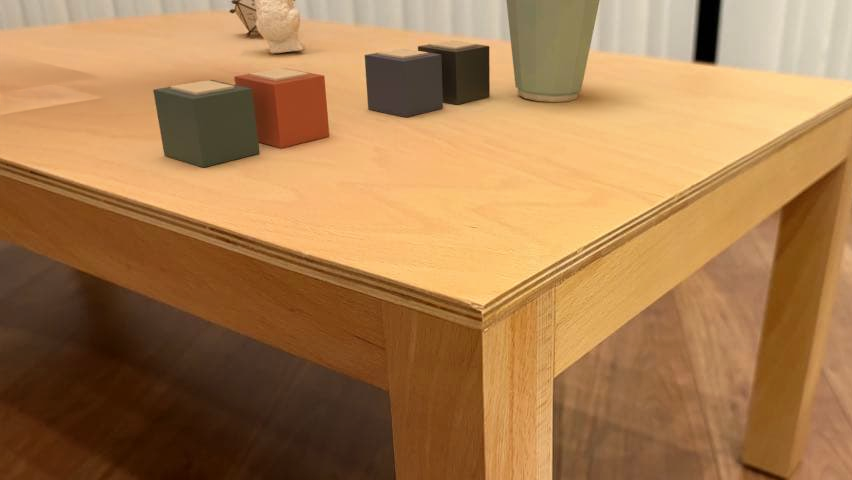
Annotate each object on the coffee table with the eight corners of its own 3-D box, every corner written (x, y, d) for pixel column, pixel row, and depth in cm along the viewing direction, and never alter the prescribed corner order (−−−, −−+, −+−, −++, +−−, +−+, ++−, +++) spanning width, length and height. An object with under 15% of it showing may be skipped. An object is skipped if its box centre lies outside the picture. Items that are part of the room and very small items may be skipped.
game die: (275, 60, 124) (303, -1, 125) (281, 47, 116) (311, -19, 117) (214, 29, 121) (243, -34, 122) (216, 13, 113) (247, -54, 114)
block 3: (406, 117, 78) (403, 59, 76) (367, 109, 81) (364, 52, 78) (443, 108, 82) (441, 52, 79) (405, 100, 84) (402, 46, 82)
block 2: (281, 148, 68) (273, 81, 66) (241, 137, 70) (233, 73, 68) (329, 136, 71) (324, 72, 69) (290, 126, 74) (284, 65, 72)
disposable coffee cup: (522, 82, 94) (524, -67, 88) (616, 91, 91) (626, -63, 84) (482, 101, 85) (481, -64, 79) (585, 112, 82) (592, -59, 75)
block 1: (203, 167, 63) (192, 96, 60) (164, 155, 65) (152, 86, 63) (260, 153, 66) (251, 85, 64) (220, 142, 69) (211, 77, 67)
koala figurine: (303, 45, 114) (294, -53, 108) (327, 52, 109) (319, -50, 104) (241, 51, 109) (229, -52, 103) (264, 58, 104) (251, -48, 99)
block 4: (457, 104, 83) (456, 49, 81) (419, 97, 86) (417, 44, 84) (489, 96, 87) (489, 43, 85) (452, 90, 89) (451, 38, 87)
